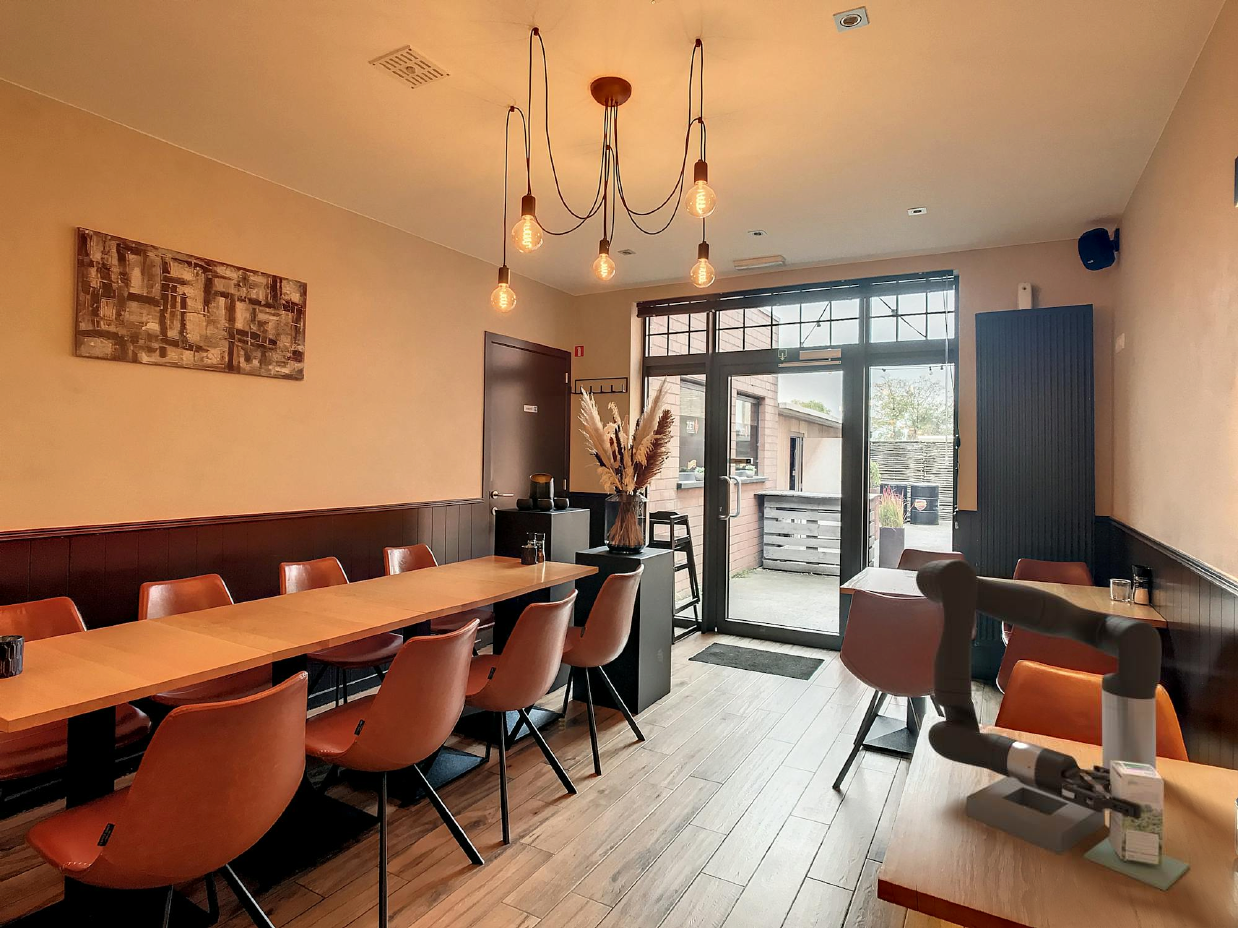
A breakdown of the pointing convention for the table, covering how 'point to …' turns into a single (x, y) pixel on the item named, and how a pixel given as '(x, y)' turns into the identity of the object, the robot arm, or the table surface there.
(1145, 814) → the syrup box
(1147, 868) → the sage mat
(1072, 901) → the table surface
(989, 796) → the socket block
